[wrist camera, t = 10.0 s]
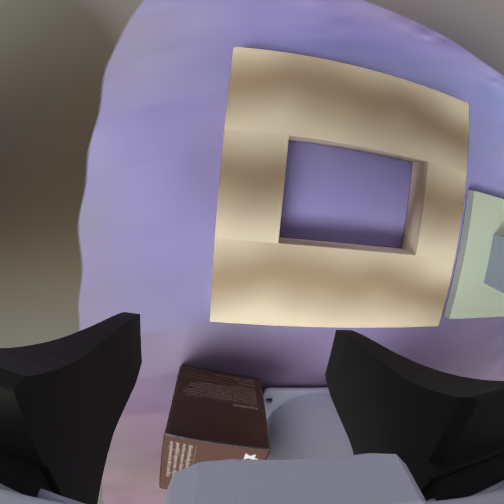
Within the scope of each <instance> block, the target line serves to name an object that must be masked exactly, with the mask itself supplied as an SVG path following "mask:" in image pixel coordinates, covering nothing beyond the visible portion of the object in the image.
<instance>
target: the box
mask: <svg viewBox="0 0 504 504" xmlns="http://www.w3.org/2000/svg"><path fill="white" fill-rule="evenodd" d="M270 452H271V447H270V441H269V432H268V425H267V419H266V411H265V404H264V398H263V391H262V384H261V380H260V379H254V378H248V377H241V376H235V375H228V374H223V373H217V372H211V371H206V370H201V369H197V368H191V367H186V366H181V367H180V370H179V374H178V378H177V382H176V386H175V391H174V395H173V400H172V405H171V409H170V413H169V418H168V422H167V426H166V430H165V433H164V438H163V446H162V455H161V466H160V482H159V484H160V488H162V489H167V488H168V486H169V483H170V481H171V479H172V477H173V474H174V473H176V472H178V471H180V470H183V469H185V468H187V467H189V466H191V465H194V464H196V463H198V462H201V461H215V460H227V459H246V460H267V458H268V456H269V454H270Z"/></svg>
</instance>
